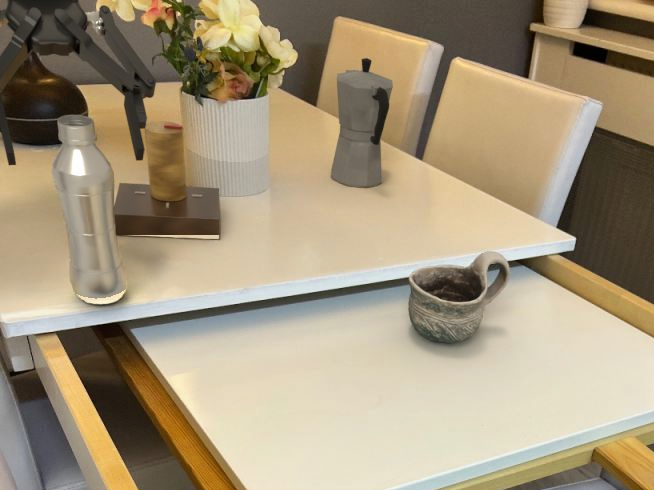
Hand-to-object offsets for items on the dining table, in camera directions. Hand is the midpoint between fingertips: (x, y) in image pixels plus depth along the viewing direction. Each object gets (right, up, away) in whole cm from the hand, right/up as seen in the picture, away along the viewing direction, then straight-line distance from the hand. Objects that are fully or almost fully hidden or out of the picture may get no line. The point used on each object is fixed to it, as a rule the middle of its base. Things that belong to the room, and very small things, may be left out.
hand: (77, 157), depth 87 cm
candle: (+3, +6, +24) cm, 25 cm away
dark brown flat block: (+3, +2, +25) cm, 25 cm away
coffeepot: (+30, +16, +45) cm, 56 cm away
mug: (+42, -17, +11) cm, 47 cm away
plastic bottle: (0, -14, +7) cm, 16 cm away
